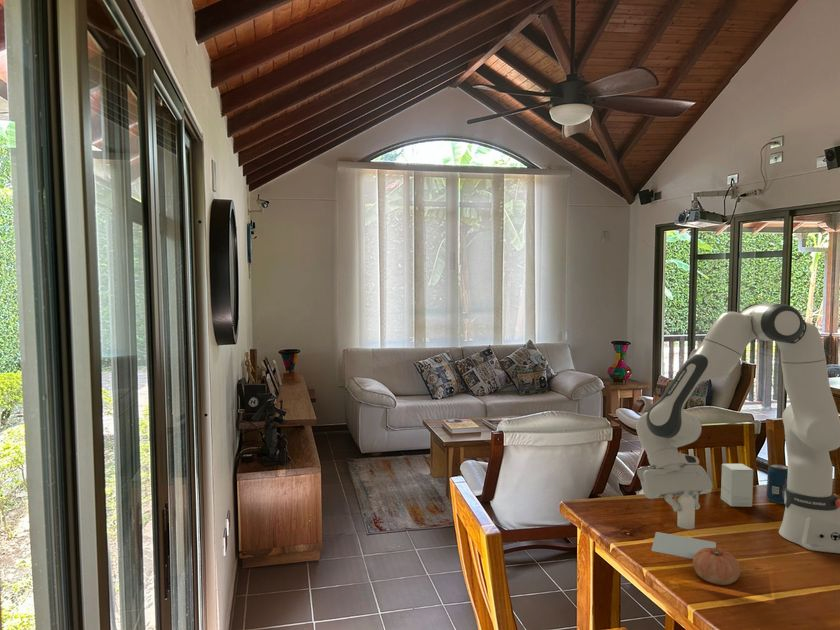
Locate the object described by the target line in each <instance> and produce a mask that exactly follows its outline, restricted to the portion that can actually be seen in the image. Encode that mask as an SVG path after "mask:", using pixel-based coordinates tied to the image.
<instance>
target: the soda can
mask: <svg viewBox="0 0 840 630" xmlns="http://www.w3.org/2000/svg"><path fill="white" fill-rule="evenodd" d="M787 477H788V465H786V464H782V463H770V464H769V467H768V468H767V478H766V479H767V482H766V484H767V485H766V496H767V498H768V500H769V501H770V502H773V503H777V504H785V503H784V495H785V487H786V486H787Z"/></svg>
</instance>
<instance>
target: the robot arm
mask: <svg viewBox="0 0 840 630" xmlns="http://www.w3.org/2000/svg"><path fill="white" fill-rule="evenodd" d="M753 340H758V341H759V340H760V341H762V342H763V341H764V342H775V343H776V344H777V347H778V349H779V354H780V364H781V370H782V377H783V385H784V390H785V391H786V392H785V393H786V394H787V396H788V400H789V403H790V404H789V405H787V406H786V407H785V408H784V410H783V412H782V416H781V417H782V419H781V420H782V423H783V426H784V427H783V429H784V439H785V447H786V453H787V466H788V477H787V486H786V487H785V495H784V503H783V504H784V506H785V507H784V508H785V509H784V512H783V518H782V522H781V525H780V528H779V530H778V533H779V535H780V536H781V537H782V538H784V540H788V541H789V542H792V543H794V544H797V545H799V546H801V547H803V548H804V549H806V550H810V551H816V552H822V553H823V552H824V553H835V554H840V497H839V496H838V495H837V494H836V493H833V477H834V467H833V464H832V460H831V457H830V452H831V451H835V450H837V449H839V448H840V414H839V412H838V408H837V405H836V402H835V399H834V396H833V392H832V390H831V389H832V388H831V386H830V381H829V379H830V378H829V373H828V364H827V357H826V352H825V348H824V343H823V340H822V337H821V335H820V331H819V329H818V328H817V326H816V325H815V324H813V323H810V322H807V321H805V320H804V319H803V316H802V314H801V313H800V311H799V310H798V309H796V308H795V307H793V306H792V305H789V304H786V303H777V302H776V303H775V302H764V303H753V304H750V305H747V306H746V307H744V308H742V309H741V310H740V311H739V312H737V311H724V312H723V313H721V314H720V315H719V316H718V317H717V318H716V320H715V321H714V322H713V323H712V324H711V326H710V328H709V329H708V331H707V333H706V334H705V336H704V338H703V340H702V341H701V343H700V345H699V346H698V348H697V349H696V351H695V352H694V353H693V354H692V356H690V357H689V358H688V359H687V360H686V361H685V362H684V363H683V364H682V366H681V367H680V369H679V370H678V371H677V373H676V374H675V376H674V377H673V379H672V380H671V382H670V384H669V385H668V386H667V388H666V390H665V391H664V392H663V394H662V395H661V396H660V397H659V398H658V400H656V401H655V402H654V403H652V405H650V407H649V409H648V410H647V412H645V413H644V414H642V415H641V416H639V418H638V419H637V420H636V423H635V429H636V433H637V436H638V441H639V442H640V445H641V446H642V450H643V451H645V452H646V455H647V460H648V463H649V465H647V466H644V465H643V466H639V468H637V471H636V475H637V476H638V479H639V480H640V485H641V488H642V492H643V494H644V496H645V497H646V498H647V500H648V499H649V500H653V499H660V498H662V499H663V498H664V500H665V502H666V503H668V505H670V506H671V507H672V509H673V512H678V511H680V510H681V509H682V508H681V506H680V503H678V502H676V501H675V500H674V498H673V497H675V498H676V497H679V496H681V495H682V494H684V490H689V495H690V496H692V497H693V498H694V501H695V510H699V509H700V508H701V505H700V502H699V495H704V494H705V495H706V494H708V493H710V492H711V490H713V482H712V481H711V479H710V477H709V475H708V472H707V471H706V470H705V468H703V466H701V465H700V460H699V458H698V457H697V456H695V455H690V454H685V453H682V452H680V451H679V450H678V448H681V447H684V446H688V445H690V444H693V443H695V442H697V440H699V438H700V436H701V435H702V431H703V426H702V422H701V420H700V419H699V418H698V416H697V415H695V414H693V413H691V412H689V411H688V410H685V409H684V407H685V405H686V404H687V401H688V400H689V398H691V396H692V394H693V392H694V391H695V390H696V389H697V386H698V385H700V383H702V382H704V381H705V380H709V379H714V378H718V379H719V378H723V377H725V376H728V375H730V374H731V373H732V372H733V371H734V370H735V368H736V367H737V365H738V364H739V362H740V360H741V358H742V356H743V355H744V352H745V350H746V348H747V346H748V345H749V344H750V343H751V342H752V341H753Z"/></svg>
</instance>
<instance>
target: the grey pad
mask: <svg viewBox="0 0 840 630" xmlns="http://www.w3.org/2000/svg"><path fill="white" fill-rule="evenodd" d="M703 548H717V543H716V542H715V541H710V540H705V539H701V538H700V539H699V538H693V537H687V536H681V535H676V534H671V533H664V532H659V531H655V533H654V539H653V542H652V546H651V551H650V552H655V553H660V554H665V555H670V556H675V557H676V556H677V557H680V558H686V559H690V560H693V558H694V556H695V554H696V553H697V552H698V551H700V550H701V549H703Z"/></svg>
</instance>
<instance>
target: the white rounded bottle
mask: <svg viewBox="0 0 840 630" xmlns="http://www.w3.org/2000/svg"><path fill="white" fill-rule="evenodd" d="M677 503H680V506H681V508H682V509H681V510H680V511H677V518H676V519H677V520H676V521H677V522H676V523H677V527H679V528H681V529H685V530H694V529H695V521H696V520H695V519H696V518H695V517H696V515H695V514H696V511H695V501H694V498H693V497H692V496H690V495H689V490H684V494H682V495H681V496H678V499H677Z"/></svg>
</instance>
